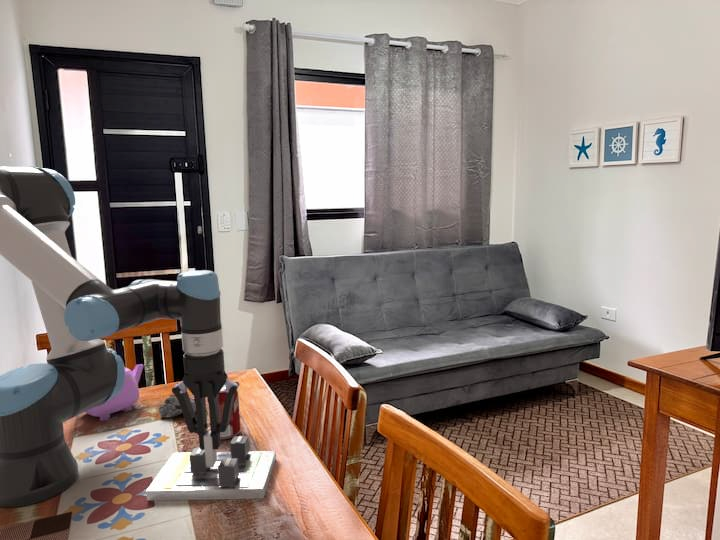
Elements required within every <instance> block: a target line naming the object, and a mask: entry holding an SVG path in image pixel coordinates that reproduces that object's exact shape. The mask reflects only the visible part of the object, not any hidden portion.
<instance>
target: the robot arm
mask: <svg viewBox="0 0 720 540" xmlns="http://www.w3.org/2000/svg"><path fill="white" fill-rule="evenodd" d="M75 205H76V196H75V192H74V189H73V187H72V185H71V184H70V182H69V181H68V179H67V178H66V177H64V175H62V174H61V173H59V172H58V171H56V170H54V169H50V168H43V167H42V168H41V167H37V166H30V167H29V166H28V167H27V166H0V256H1V257H3V258H4V259H5V260H7V262H8V263H10V264H11V265H12V266H13V267H15V268H16V269H17V270H18V271H19V272H20V273H22V274H23V275H24V276H25V277H27V279H29V280H30V281H31V284H32V288H33V290H34V295H35V298H36V301H37V304H38V308H39V310H40V315H41V318H42V321H43V324H44V327H45V331H46V334H47V337H48V340H49V344H50V347H51V349H50V351H49V352H48V355H47V356H46V358H45V359H46V363H43V362H42V363H32V364H29V365H27V366H19V367H16V368H13V369H12V370H9V371H7V372H5V373H3V374H1V375H0V508H1V507H2V508H18V507H25V506H29V505H33V504H37V503H40V502H43V501H45V500H48V499H50V498H53V497H55V496H57V495H59V494H60V493H63V492H64V491H65V490H67V489H68V488H70V487H71V486H72V485H73V484H74V483H75V482H76V481H77V479H78V478H79V475H80V473H79V465H78V462H77V459H75V457H74V455H73V453H72V451H71V449H70V448H69V447H70V446H69V445H68V443H67V442H66V439H65V433H64V423H65V422H67V421H69V420H72V419H74V418H75V417H77V416H79V415H82V414H85V412H86V411H88V410H90V409H92V408H94V407H96V406H101V405H103V404H104V403H106V402H107V401H108V400H110V399H112V398H114V397H115V396H116V395H117V394H118V393H119V392H120V391H121V388H122V387H123V385H124V381H125V364H124V361H123V359H122V357H121V355H118V354H117V351H116V350H114V349H112V348H109V347H107V346H106V341H105V340H102V339H103V338H107V337H110V336H112V335H114V334H116V333H117V334H118V333H121V332H123V331H126V330H129V329H132V328H134V327H139V326H141V325H144V324H146V323H151V322H153V321H156V320H161V319H162V320H163V319H164V320H175V321H177V320H178V321H179V322H180V323H179V324H180V332H181V333H180V334H181V343H182V351H183V353H184V354H182V355H183V357H182V358H183V369H184V376H183V377H182V381H181V382H177V383H176V384H175V385H174V386H173V387H172V388H171V392H172V395H175V396H176V397H177V399H178V401H179V404H180V407H181V410H182V415H183V419H184V421H185V424H186V428H187V430H188V433H190V434H193V433H195V434H197V435H198V443H199V447H200V449H201V450H205V462H206V467H214V465H215V463H216V461H217V452H218V451H217V450H219V449H220V446H221V444H222V443H221V439H220V432H225V431H226V429H227V427H228V425H229V421H230V416H231V411H232V406H233V400H234V395H235V392H236V390H237V391H238V388H239V387H240V383H239V382H238V381H232V380H231V379H229V378H228V377H229V376H228V375H227V373H226V371H225V370H226V369H225V355H224V354H225V353H224V349H222V348H223V347H224V338H223V330H222V329H223V327H222V319H221V316H222V315H221V296H222V295H221V290H220V285H219V283H220V282H219V278H218V274H217V273H216V272H214V271H212V270H208V269H207V270H206V269H202V270H197V269H196V270H187V271H183V272H180V273H179V274H177V277H176V280H166V279H165V280H162V279H154V278H146V279H136V280H134V281H132V282H130V284H129V285H128V286H124V287H121V288H115V289H113V288H111V287H110V286H109V285H107V284H106V283H104V282H103V281H102V280H101V279H100V278H98V277H97V276H96V275H94V274H93V273H92V272H91V271H90V270H89V269H87V268H86V267H85V266H84V265H83V264H82V263H80V262H79V261H78V260H76V258H74V257H73V256H72V253H71V250H70V248H69V247H70V246H69V244H68V240H67V237H66V236H67V235H66V230H67V229H68V228H69V226H70V225H71V223H70V220H69V218H70V217H71V216H72V215H73V213H74V211H75V207H74V206H75ZM224 385H225V386H226V389H225V391H226V392H227V395H226V398H225V403H224V409H223V414H222V419H221V424H220V416H219V402H218V397H219V392H220V390H221V389H222V387H223V386H224ZM188 391H189V392H190V393H191V394H192V395H193V399H194V402H195V404H196V413H194V410H193V407H192V404H191V401H190V398H191V397H190V395H189V393H188ZM206 398H207V401H206ZM206 402H207V403H208V413H209V425H208V416H207V412H206V410H207V404H206ZM209 426H210V427H209ZM208 428H210V429H208Z"/></svg>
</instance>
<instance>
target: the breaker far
mask: <svg viewBox="0 0 720 540" xmlns="http://www.w3.org/2000/svg"><path fill="white" fill-rule="evenodd" d="M231 439H232V440H231V441H230V443H229V444H230V445H229V446H230V452H231V458H238V459H246V457H247V455H248V453H249V451H250V447H249V436H247V435H239V436H238V435H236V436H234V437H232V438H231Z"/></svg>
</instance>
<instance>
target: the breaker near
mask: <svg viewBox="0 0 720 540" xmlns="http://www.w3.org/2000/svg"><path fill="white" fill-rule="evenodd" d="M218 474H219V484H235V483H236V480H237V478H238V476H239V471H238V458H227V459H222V460H221V462H220V464H219V466H218Z"/></svg>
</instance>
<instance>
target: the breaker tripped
mask: <svg viewBox="0 0 720 540" xmlns="http://www.w3.org/2000/svg"><path fill="white" fill-rule="evenodd" d="M190 453H191V454H190V455H189V456H190V469H191V472H206V470H207V469H208V467H206V462H205V450H201V449H200V446H199V447H194V448H193V449H192V451H191V452H190Z"/></svg>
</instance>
